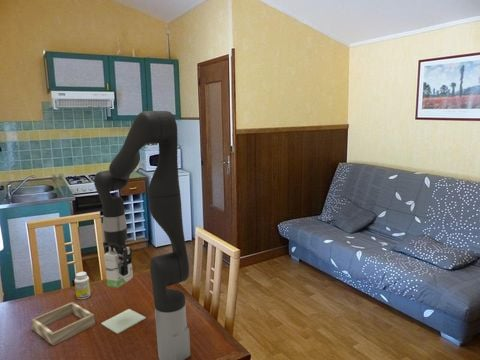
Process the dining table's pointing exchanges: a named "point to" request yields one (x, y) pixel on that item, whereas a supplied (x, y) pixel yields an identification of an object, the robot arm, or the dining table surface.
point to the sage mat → (123, 321)
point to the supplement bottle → (82, 285)
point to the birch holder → (64, 332)
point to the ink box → (116, 270)
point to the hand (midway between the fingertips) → (119, 272)
